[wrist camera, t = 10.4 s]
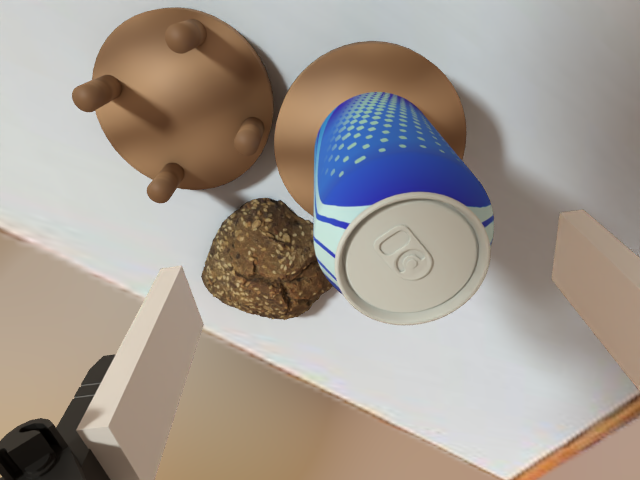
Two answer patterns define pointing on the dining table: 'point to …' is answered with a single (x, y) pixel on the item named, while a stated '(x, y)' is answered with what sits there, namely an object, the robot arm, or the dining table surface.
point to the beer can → (397, 212)
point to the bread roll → (265, 262)
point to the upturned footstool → (180, 99)
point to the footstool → (351, 80)
